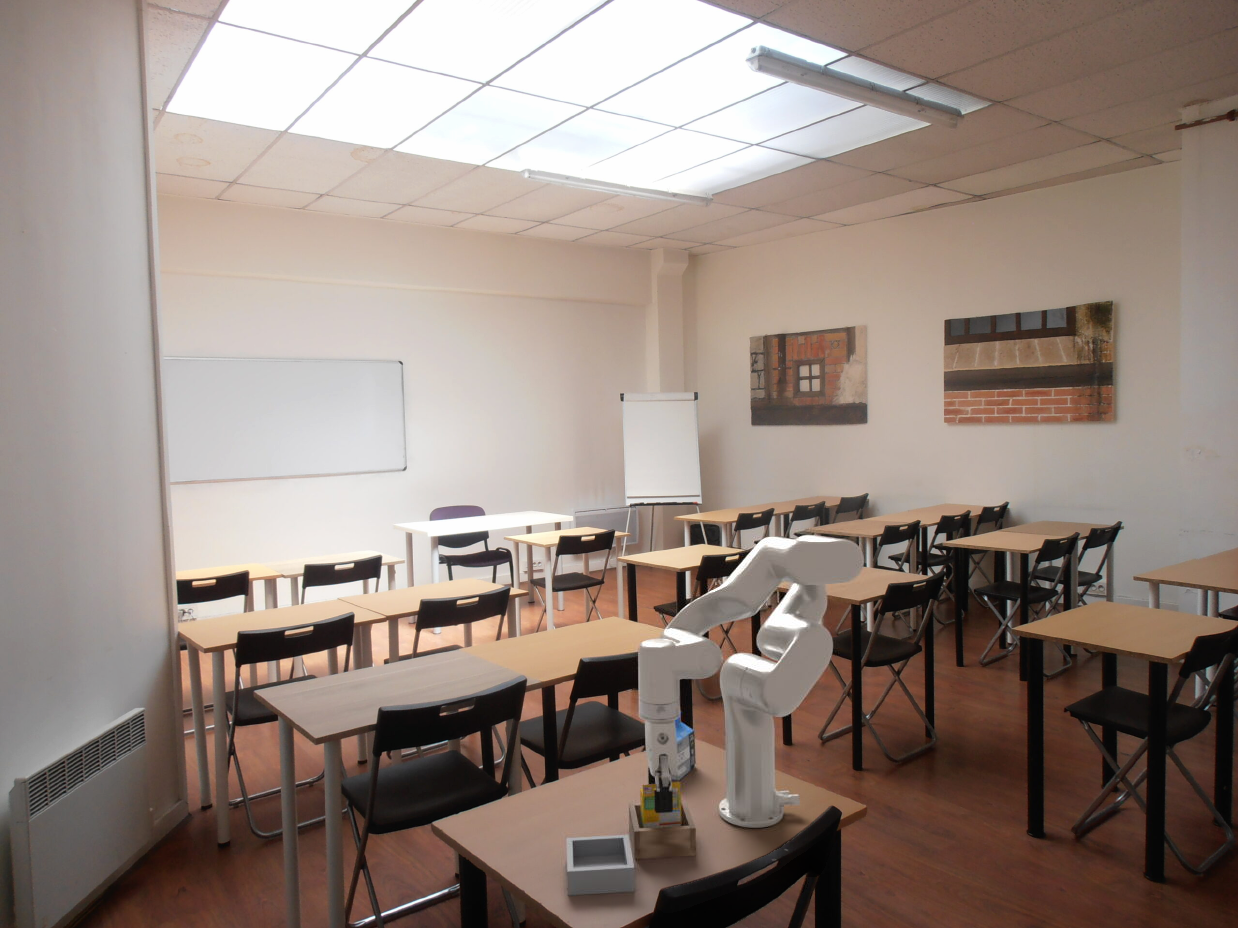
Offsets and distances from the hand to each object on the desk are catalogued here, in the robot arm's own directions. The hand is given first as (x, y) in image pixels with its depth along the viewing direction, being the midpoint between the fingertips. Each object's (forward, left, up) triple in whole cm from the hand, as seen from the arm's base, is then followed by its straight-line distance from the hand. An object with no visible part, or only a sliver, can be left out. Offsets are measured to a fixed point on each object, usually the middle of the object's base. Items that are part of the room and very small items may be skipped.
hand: (660, 799), depth 148 cm
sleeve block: (0, 0, -8) cm, 8 cm away
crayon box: (0, 0, -8) cm, 8 cm away
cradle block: (+12, +10, -8) cm, 17 cm away
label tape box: (-8, -30, -8) cm, 32 cm away
